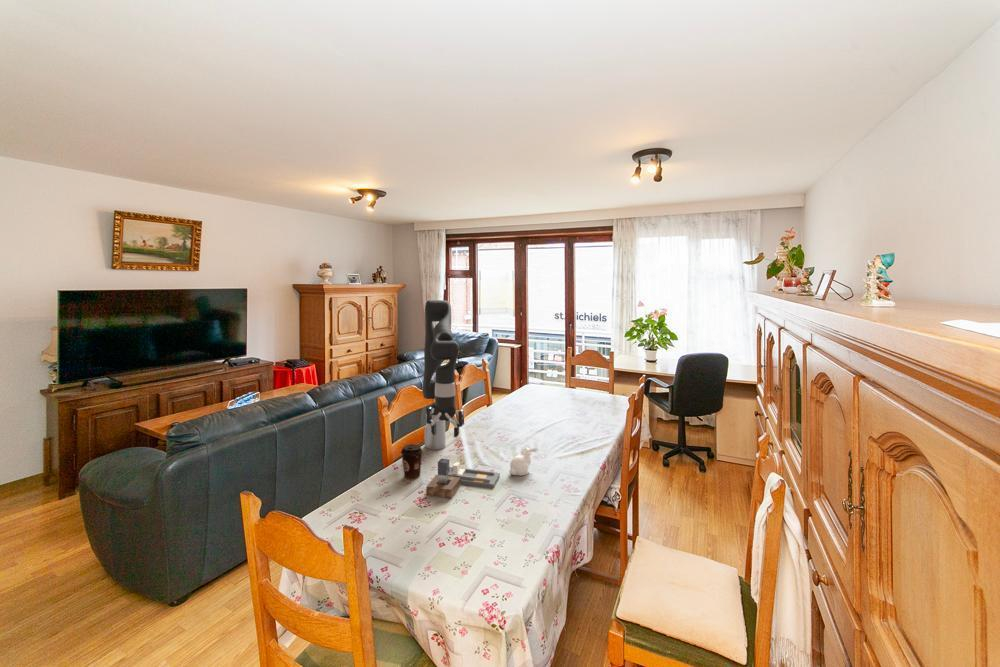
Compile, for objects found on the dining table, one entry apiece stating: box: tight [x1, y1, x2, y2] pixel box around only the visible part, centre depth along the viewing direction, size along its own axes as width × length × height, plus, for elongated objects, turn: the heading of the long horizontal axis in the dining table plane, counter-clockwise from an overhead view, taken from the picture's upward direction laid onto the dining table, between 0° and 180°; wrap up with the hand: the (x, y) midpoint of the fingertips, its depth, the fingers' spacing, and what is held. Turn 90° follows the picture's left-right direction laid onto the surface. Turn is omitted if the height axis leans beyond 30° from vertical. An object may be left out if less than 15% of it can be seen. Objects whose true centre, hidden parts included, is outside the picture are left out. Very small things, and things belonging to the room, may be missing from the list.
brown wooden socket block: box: [425, 474, 461, 500], centre depth 165 cm, size 10×10×4 cm
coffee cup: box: [400, 443, 424, 481], centre depth 176 cm, size 9×8×13 cm
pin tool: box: [437, 458, 450, 485], centre depth 164 cm, size 3×3×12 cm
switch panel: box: [449, 466, 501, 489], centre depth 175 cm, size 22×10×3 cm, turn 76°
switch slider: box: [452, 462, 466, 475], centre depth 176 cm, size 4×5×4 cm
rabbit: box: [508, 446, 538, 477], centre depth 181 cm, size 12×9×12 cm
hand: (445, 435), depth 163 cm, fingers open, 8 cm apart
